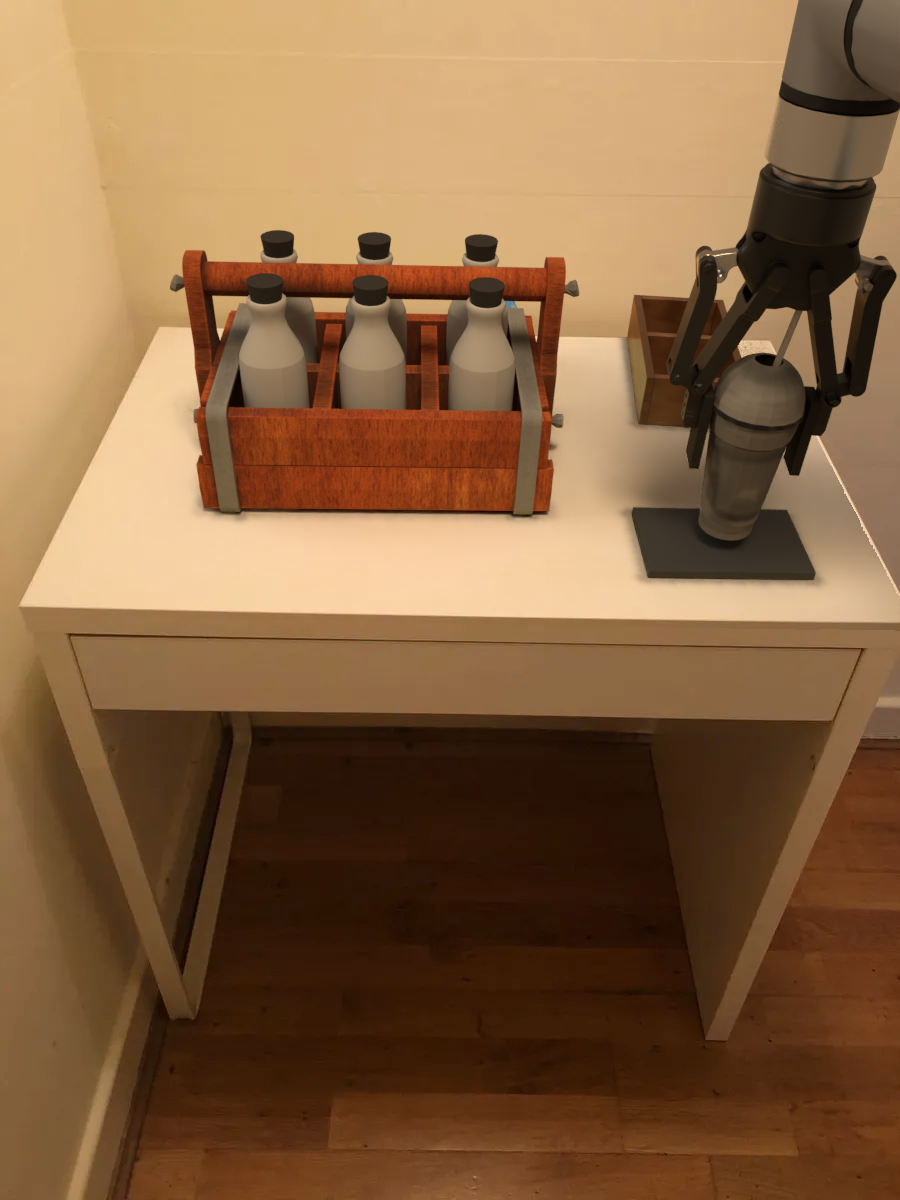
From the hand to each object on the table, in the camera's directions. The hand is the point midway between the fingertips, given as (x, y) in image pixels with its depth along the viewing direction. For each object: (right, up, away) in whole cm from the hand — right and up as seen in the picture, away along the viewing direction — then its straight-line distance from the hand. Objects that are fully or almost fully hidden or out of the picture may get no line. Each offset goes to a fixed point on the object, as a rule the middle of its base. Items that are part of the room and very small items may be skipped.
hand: (741, 462), depth 80 cm
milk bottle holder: (-30, +3, +15) cm, 34 cm away
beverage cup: (0, -5, +4) cm, 7 cm away
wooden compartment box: (+1, +13, +28) cm, 31 cm away
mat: (0, -6, +6) cm, 9 cm away
